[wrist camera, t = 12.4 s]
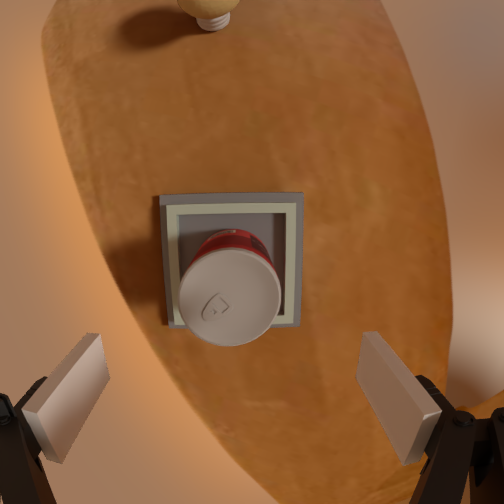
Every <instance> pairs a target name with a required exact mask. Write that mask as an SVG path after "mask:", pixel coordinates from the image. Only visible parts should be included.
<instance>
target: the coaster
mask: <svg viewBox="0 0 504 504" xmlns="http://www.w3.org/2000/svg"><path fill="white" fill-rule="evenodd" d="M159 198H160V223H161V241H162V257H163V270H164V283H165V294H166V304H167V314H168V323H169V328H188V327H187V326H186V325H185V323H184V321H183V320H182V318H181V315H180V312H179V309H178V300H177V298H178V289H179V285H180V282H181V279H182V277H183V275H184V273H185V271H186V270H187V268H188V266H189V265H190V263H191V261H192V260H193V258H194V257H195V255H196V253H197V252H198V250H199V249H200V247H201V245H202V244H203V243H204V242H205V241H206V240H207V239H208V238H209V237H210V236H212V235H213V234H215V233H217V232H219V231H223V230H226V229H241V230H245V231H248V232H250V233H252V234H254V235H255V236H257V237H258V238H259V239H260V240H261V241H262V243H263V244H264V245H265V247H266V249H267V251H268V254H269V256H270V258H271V261H272V263H273V266H274V268H275V271H276V273H277V276H278V279H279V282H280V287H281V304H280V308H279V312H278V314H277V316H276V319H275V321H274V322H273V323H272V325H271V326H270V328H275V327H299V326H300V313H301V291H302V262H303V214H304V193H303V192H235V193H195V194H169V195H159Z"/></svg>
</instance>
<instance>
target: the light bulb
mask: <svg viewBox="0 0 504 504" xmlns="http://www.w3.org/2000/svg"><path fill="white" fill-rule="evenodd" d="M239 1H240V0H177V2H178V4H179V6H180V7H181V8H182V10H183V11H185V12H186V13H187V14H189V15H191V16H193V17H196V20H197V23H198V25H199V26H200V27H201V28H202V29H204V30H207V31H217V30H220V29H222V28H224V27H225V26H226V25H227V24H228V23H229V20H230V11H231V10H233V9H234V8H235V7H236V5H237V4H238V3H239Z"/></svg>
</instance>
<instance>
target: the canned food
mask: <svg viewBox="0 0 504 504" xmlns="http://www.w3.org/2000/svg"><path fill="white" fill-rule="evenodd" d="M177 300H178V309H179V312H180V315H181V318H182V320H183V321H184V323H185V325H186V326H187V327H188V329H189V330H190V331H191V332H192V333H193V334H194V335H196V336H197V337H198V338H200V339H202V340H204V341H206V342H208V343H211V344H214V345H219V346H237V345H241V344H245V343H248V342H250V341H252V340H255V339H256V338H258V337H259V336H261V335H262V334H263V333H264V332H265V331H266V330H267V329H269V328H270V326H271V325H272V323H273V322H274V321H275V319H276V316H277V314H278V312H279V308H280V304H281V287H280V282H279V279H278V276H277V273H276V271H275V268H274V266H273V263H272V261H271V258H270V256H269V254H268V251H267V249H266V247H265V245H264V244H263V243H262V241H261V240H260V239H259V238H258V237H257V236H255V235H254V234H252V233H250V232H248V231H245V230H241V229H226V230H223V231H219V232H217V233H215V234H213V235H212V236H210V237H209V238H208V239H207V240H206V241H205V242H204V243H203V244H202V245H201V247H200V249H199V250H198V252H197V253H196V255H195V257H194V258H193V260H192V261H191V263H190V265H189V266H188V268H187V270H186V271H185V273H184V275H183V277H182V279H181V282H180V285H179V289H178V298H177Z"/></svg>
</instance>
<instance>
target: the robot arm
mask: <svg viewBox="0 0 504 504" xmlns="http://www.w3.org/2000/svg"><path fill="white" fill-rule="evenodd" d="M356 379H357V381H358V383H359V385H360V387H361V388H362V390H363V392H364V394H365V396H366V398H367V399H368V401H369V403H370V405H371V407H372V409H373V410H374V412H375V414H376V416H377V418H378V420H379V421H380V423H381V425H382V427H383V429H384V431H385V433H386V435H387V436H388V438H389V440H390V442H391V444H392V446H393V448H394V450H395V451H396V453H397V455H398V457H399V459H400V461H401V463H402V465H403V466H404V465H408V464H411V463H415V462H418V461H420V459H421V457H422V455H423V453H424V451H425V453H426V454H427V456H428V459H427V461H426V463H425V465H424V467H423V469H422V471H421V472H420V474H421V476H420V479H419V481H418V484H417V486H416V488H415V491H414V493H413V495H412V498H411V500H410V502H409V504H460V503H461V499H462V496H463V492H464V488H465V484H466V479H467V475H468V471H469V479H470V480H469V481H470V504H504V407H502V408H497V409H495V410H494V412H493V413H492V415H491V417H490V418H487V419H475V417H474V416H473V415H472V414H470V413H469V412H466V411H459V410H458V411H456V410H455V409H454V407H453V406H452V405H451V404H450V403H449V401H447V399H446V398H445V397H444V396H443V394H441V392H440V391H439V390H438V389H437V388H436V386H435V385H434V384H433V383H432V382H431V380H429V379H427V378H426V377H424V376H422V375H418V376H414V375H413V374H412V373H411V371H410V370H409V369H408V368H407V367H406V365H405V364H404V363H403V362H402V361H401V359H400V358H399V357H398V356H397V355H396V353H395V352H394V351H393V350H392V349H391V347H390V346H389V345H388V344H387V343H386V342H385V340H384V339H383V338H382V337H381V336H380V334H379V333H378V332H377V331H374V332H363V336H362V343H361V349H360V355H359V361H358V367H357V372H356ZM109 380H110V376H109V372H108V368H107V363H106V359H105V355H104V350H103V346H102V341H101V336H100V334H96V333H87V334H86V335H85V336H84V337H83V338H82V339H81V340H80V341H79V342H78V344H77V345H76V346H75V347H74V348H73V349H72V350H71V351H70V352H69V354H68V355H67V356H66V357H65V358H64V359H63V360H62V362H61V363H60V364H59V365H58V366H57V367H56V369H55V370H54V371H53V372H52V373H51V374H50V375H49V377H43V378H41V379H39V380H38V381H36V382H35V383H34V384H33V386H32V387H31V388H30V389H29V390H28V391H27V392H26V395H24V396H23V397H22V398H21V399H20V401H19V402H18V403H17V404H16V405H15V406H14V407H13V406H12V404H11V402H10V399H9V397H8V396H7V395H5V394H2V393H0V497H1V496H2V500H3V504H57V503H56V501H55V498H54V496H53V493H52V491H51V488H50V485H49V483H48V480H47V477H46V474H45V471H44V468H43V466H42V463H41V460H40V458H39V457H38V455H39V453H40V452H41V450H42V452H43V453H44V455H45V457H46V459H47V460H50V461H54V462H57V463H60V464H62V463H63V461H64V459H65V457H66V455H67V454H68V452H69V450H70V448H71V446H72V444H73V443H74V441H75V439H76V437H77V435H78V433H79V432H80V430H81V428H82V426H83V424H84V423H85V421H86V419H87V417H88V416H89V414H90V412H91V410H92V409H93V407H94V405H95V403H96V401H97V400H98V398H99V396H100V394H101V393H102V391H103V390H104V388H105V386H106V384H107V383H108V381H109Z"/></svg>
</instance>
